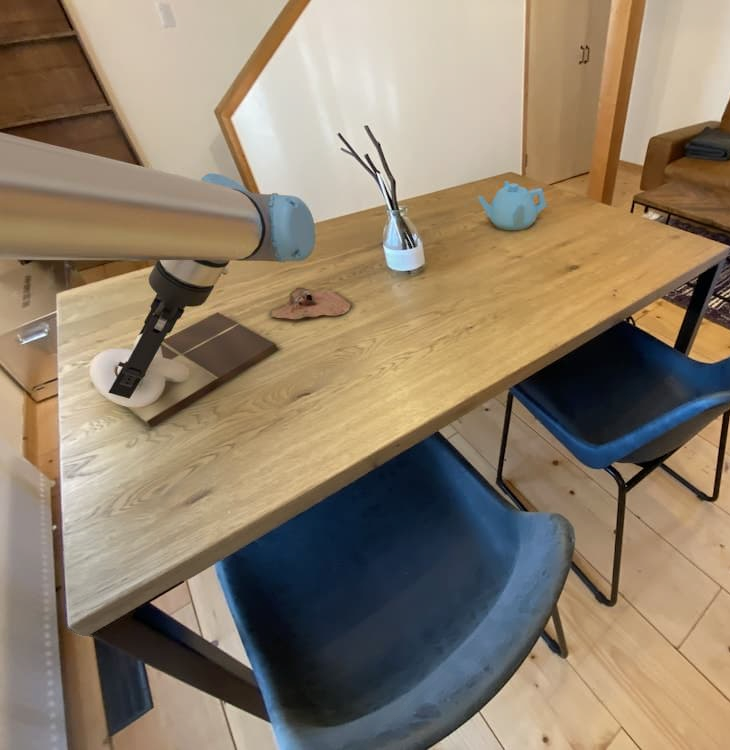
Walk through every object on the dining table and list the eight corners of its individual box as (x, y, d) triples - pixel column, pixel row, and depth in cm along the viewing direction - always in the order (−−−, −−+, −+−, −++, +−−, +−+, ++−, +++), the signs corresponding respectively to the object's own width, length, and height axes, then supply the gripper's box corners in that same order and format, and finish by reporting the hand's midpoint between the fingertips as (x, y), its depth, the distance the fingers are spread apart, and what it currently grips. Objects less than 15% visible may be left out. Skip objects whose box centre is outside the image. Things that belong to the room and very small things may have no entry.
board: (151, 427, 71) (145, 420, 70) (96, 382, 79) (90, 375, 78) (278, 349, 86) (275, 342, 85) (220, 317, 94) (217, 311, 93)
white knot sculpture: (211, 365, 80) (186, 325, 74) (174, 414, 71) (143, 373, 65) (150, 366, 80) (120, 326, 74) (106, 414, 71) (68, 374, 65)
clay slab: (360, 298, 99) (357, 286, 97) (324, 331, 90) (320, 319, 88) (307, 287, 103) (303, 275, 101) (267, 317, 94) (262, 305, 92)
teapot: (520, 238, 121) (521, 199, 113) (477, 226, 127) (475, 188, 119) (547, 219, 130) (550, 181, 122) (505, 208, 136) (505, 172, 129)
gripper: (199, 329, 59) (137, 428, 66) (227, 249, 76) (176, 335, 83) (132, 302, 54) (73, 412, 61) (178, 224, 72) (128, 317, 79)
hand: (132, 368), depth 72 cm, fingers open, 12 cm apart
